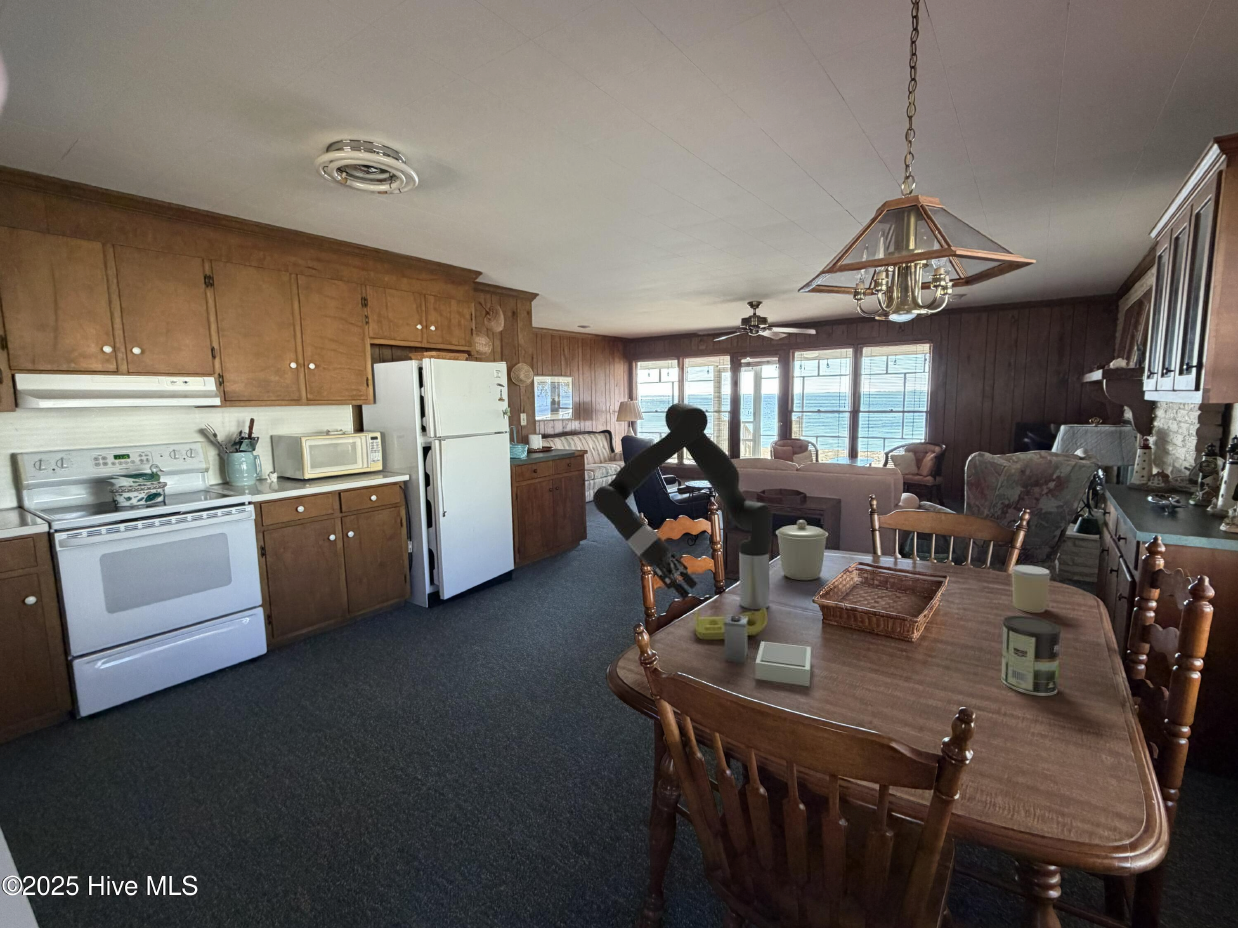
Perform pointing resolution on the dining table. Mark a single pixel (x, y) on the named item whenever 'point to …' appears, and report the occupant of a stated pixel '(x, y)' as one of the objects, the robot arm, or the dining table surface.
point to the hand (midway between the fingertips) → (691, 591)
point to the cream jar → (1030, 588)
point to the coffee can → (1030, 655)
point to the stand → (784, 663)
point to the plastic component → (716, 627)
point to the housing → (736, 638)
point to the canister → (801, 550)
